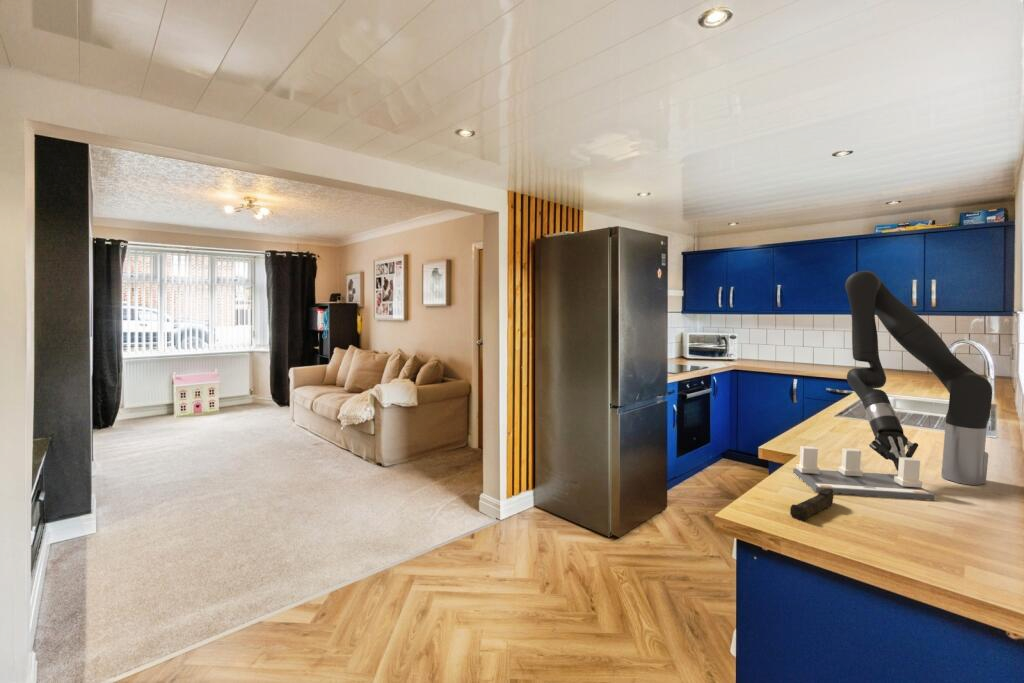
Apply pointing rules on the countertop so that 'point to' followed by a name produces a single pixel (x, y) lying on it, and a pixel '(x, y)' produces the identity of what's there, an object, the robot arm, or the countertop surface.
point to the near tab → (908, 472)
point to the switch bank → (862, 484)
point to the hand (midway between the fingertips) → (904, 472)
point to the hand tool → (812, 505)
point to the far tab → (808, 460)
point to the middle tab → (850, 462)
